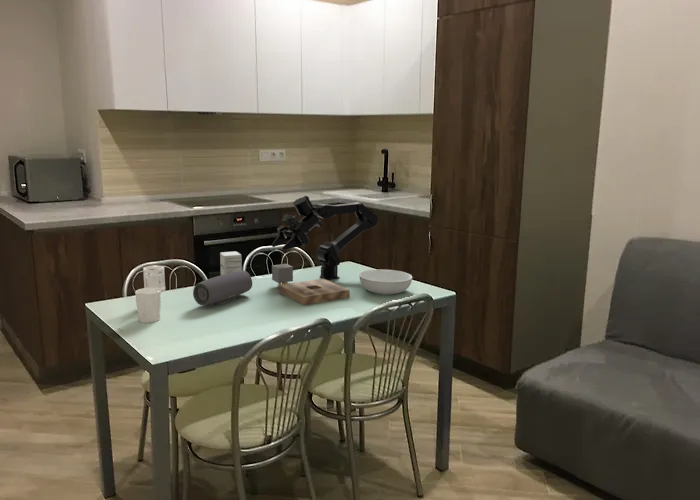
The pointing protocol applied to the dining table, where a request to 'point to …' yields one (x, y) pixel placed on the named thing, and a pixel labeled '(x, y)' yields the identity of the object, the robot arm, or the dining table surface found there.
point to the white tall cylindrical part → (154, 277)
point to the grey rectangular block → (282, 273)
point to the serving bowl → (385, 281)
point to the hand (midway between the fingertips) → (277, 247)
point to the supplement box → (230, 262)
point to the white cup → (148, 304)
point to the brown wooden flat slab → (314, 291)
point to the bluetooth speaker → (222, 288)
